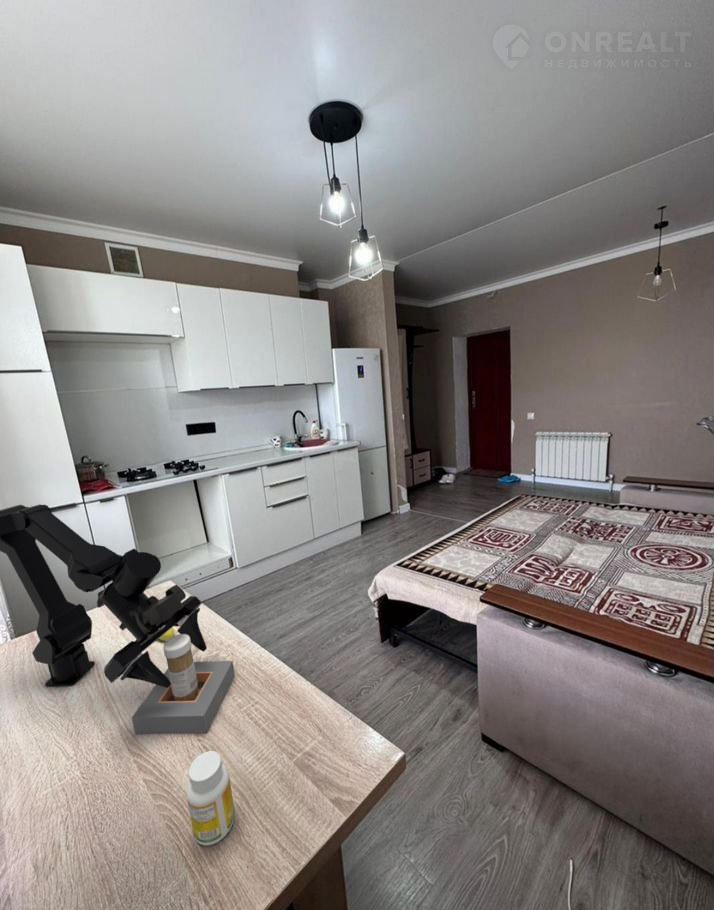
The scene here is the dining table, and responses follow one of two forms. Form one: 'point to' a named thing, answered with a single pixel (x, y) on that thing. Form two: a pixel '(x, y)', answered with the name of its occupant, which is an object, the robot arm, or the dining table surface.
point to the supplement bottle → (210, 798)
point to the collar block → (185, 703)
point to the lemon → (167, 635)
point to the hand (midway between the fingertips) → (188, 666)
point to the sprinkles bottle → (181, 668)
